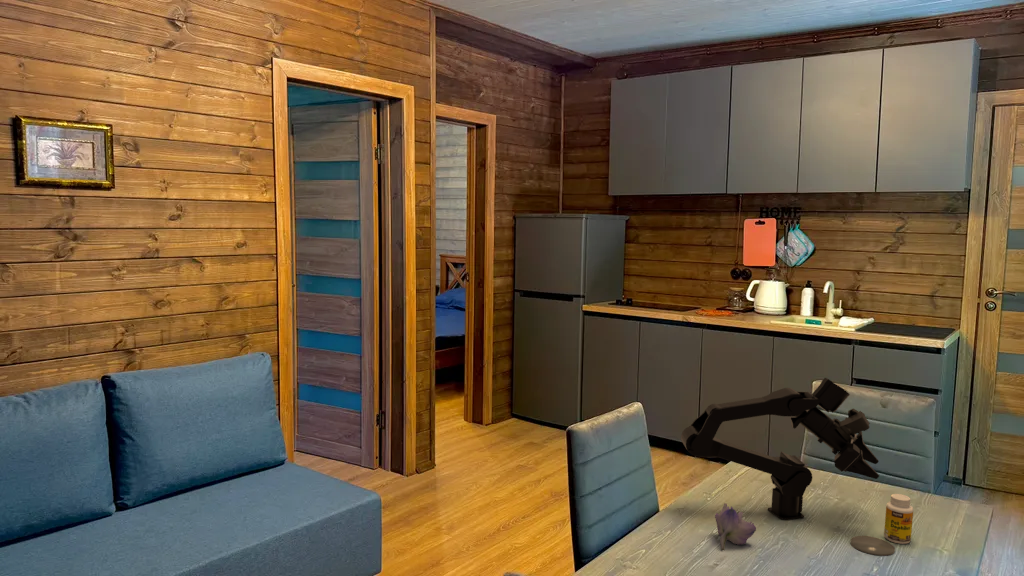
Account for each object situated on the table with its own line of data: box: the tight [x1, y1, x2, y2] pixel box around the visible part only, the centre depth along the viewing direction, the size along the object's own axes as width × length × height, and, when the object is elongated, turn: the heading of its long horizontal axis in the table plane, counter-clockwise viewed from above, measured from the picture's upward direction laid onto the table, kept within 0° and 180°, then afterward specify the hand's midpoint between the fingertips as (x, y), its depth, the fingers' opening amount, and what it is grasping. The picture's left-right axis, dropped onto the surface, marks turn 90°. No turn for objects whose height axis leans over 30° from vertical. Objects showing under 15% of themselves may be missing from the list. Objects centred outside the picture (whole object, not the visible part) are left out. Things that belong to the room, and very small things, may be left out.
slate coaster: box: [849, 535, 896, 557], centre depth 165 cm, size 9×9×1 cm
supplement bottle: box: [883, 493, 914, 545], centre depth 169 cm, size 6×6×10 cm
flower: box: [714, 503, 757, 551], centre depth 165 cm, size 9×9×10 cm
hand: (877, 469), depth 175 cm, fingers open, 9 cm apart
